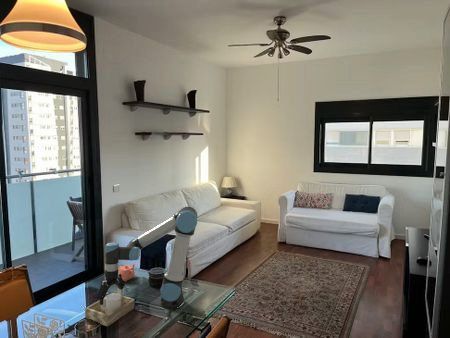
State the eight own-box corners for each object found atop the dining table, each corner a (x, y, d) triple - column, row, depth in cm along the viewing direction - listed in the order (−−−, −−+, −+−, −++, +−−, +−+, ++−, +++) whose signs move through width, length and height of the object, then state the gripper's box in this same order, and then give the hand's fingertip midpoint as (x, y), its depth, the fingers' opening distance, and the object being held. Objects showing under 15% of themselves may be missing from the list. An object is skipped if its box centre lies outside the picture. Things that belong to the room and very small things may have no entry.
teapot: (132, 283, 232) (133, 269, 231) (115, 283, 230) (116, 269, 229) (135, 275, 246) (135, 262, 245) (119, 275, 244) (119, 262, 243)
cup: (115, 317, 185) (116, 300, 184) (96, 314, 187) (97, 298, 186) (122, 310, 193) (123, 294, 193) (104, 307, 195) (104, 291, 195)
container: (152, 289, 224) (152, 275, 223) (145, 282, 234) (145, 269, 233) (169, 285, 231) (169, 271, 231) (161, 278, 242) (161, 265, 241)
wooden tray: (134, 308, 197) (134, 299, 197) (107, 326, 177) (108, 316, 177) (112, 301, 204) (113, 292, 204) (85, 318, 184) (85, 308, 184)
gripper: (121, 261, 201) (121, 293, 203) (90, 275, 179) (89, 312, 180) (131, 263, 198) (130, 296, 200) (100, 278, 176) (100, 315, 177)
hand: (111, 304), depth 190 cm, fingers open, 13 cm apart
